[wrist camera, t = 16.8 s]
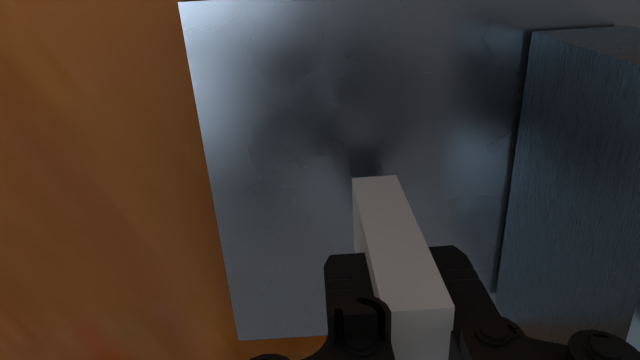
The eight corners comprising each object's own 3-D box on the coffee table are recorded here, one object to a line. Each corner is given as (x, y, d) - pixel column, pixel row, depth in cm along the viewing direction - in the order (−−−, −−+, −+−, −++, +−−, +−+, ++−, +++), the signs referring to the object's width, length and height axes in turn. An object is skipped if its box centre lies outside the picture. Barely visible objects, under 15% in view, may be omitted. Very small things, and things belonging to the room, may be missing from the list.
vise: (241, 321, 21) (207, 513, 14) (186, -1, 15) (75, 35, 8) (799, 286, 21) (1061, 459, 14) (964, -50, 15) (1580, -60, 8)
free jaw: (494, 303, 19) (621, 531, 12) (531, 31, 15) (788, 111, 7) (579, 297, 19) (763, 522, 12) (645, 24, 15) (1030, 96, 7)
